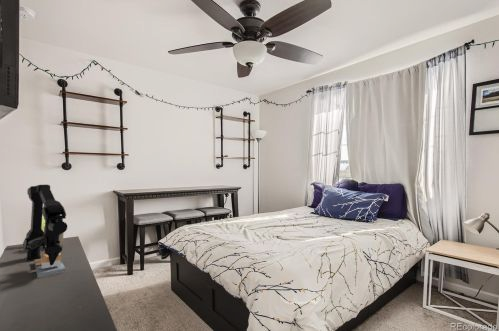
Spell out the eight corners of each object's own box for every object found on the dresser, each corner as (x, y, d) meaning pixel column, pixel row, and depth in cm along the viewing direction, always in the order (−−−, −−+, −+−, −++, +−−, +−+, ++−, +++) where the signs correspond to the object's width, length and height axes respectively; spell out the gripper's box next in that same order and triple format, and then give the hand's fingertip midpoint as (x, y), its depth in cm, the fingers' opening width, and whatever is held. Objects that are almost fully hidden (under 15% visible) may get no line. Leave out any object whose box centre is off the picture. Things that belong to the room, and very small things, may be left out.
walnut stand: (34, 263, 129) (34, 259, 129) (58, 259, 136) (58, 255, 136) (35, 269, 122) (35, 265, 122) (61, 264, 129) (61, 260, 129)
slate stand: (36, 271, 120) (36, 267, 120) (62, 266, 127) (62, 262, 127) (37, 278, 113) (37, 273, 113) (65, 272, 119) (65, 268, 119)
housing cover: (59, 256, 124) (59, 251, 124) (60, 259, 120) (61, 254, 120) (41, 260, 119) (41, 254, 119) (42, 263, 115) (42, 257, 115)
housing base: (59, 261, 124) (59, 256, 124) (60, 265, 120) (60, 259, 120) (40, 265, 119) (41, 260, 119) (41, 268, 115) (42, 263, 115)
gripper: (29, 229, 121) (27, 261, 121) (31, 237, 108) (29, 273, 107) (57, 226, 129) (56, 256, 129) (63, 233, 115) (61, 267, 115)
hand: (50, 263), depth 120 cm, fingers closed on housing base, housing cover, 5 cm apart
